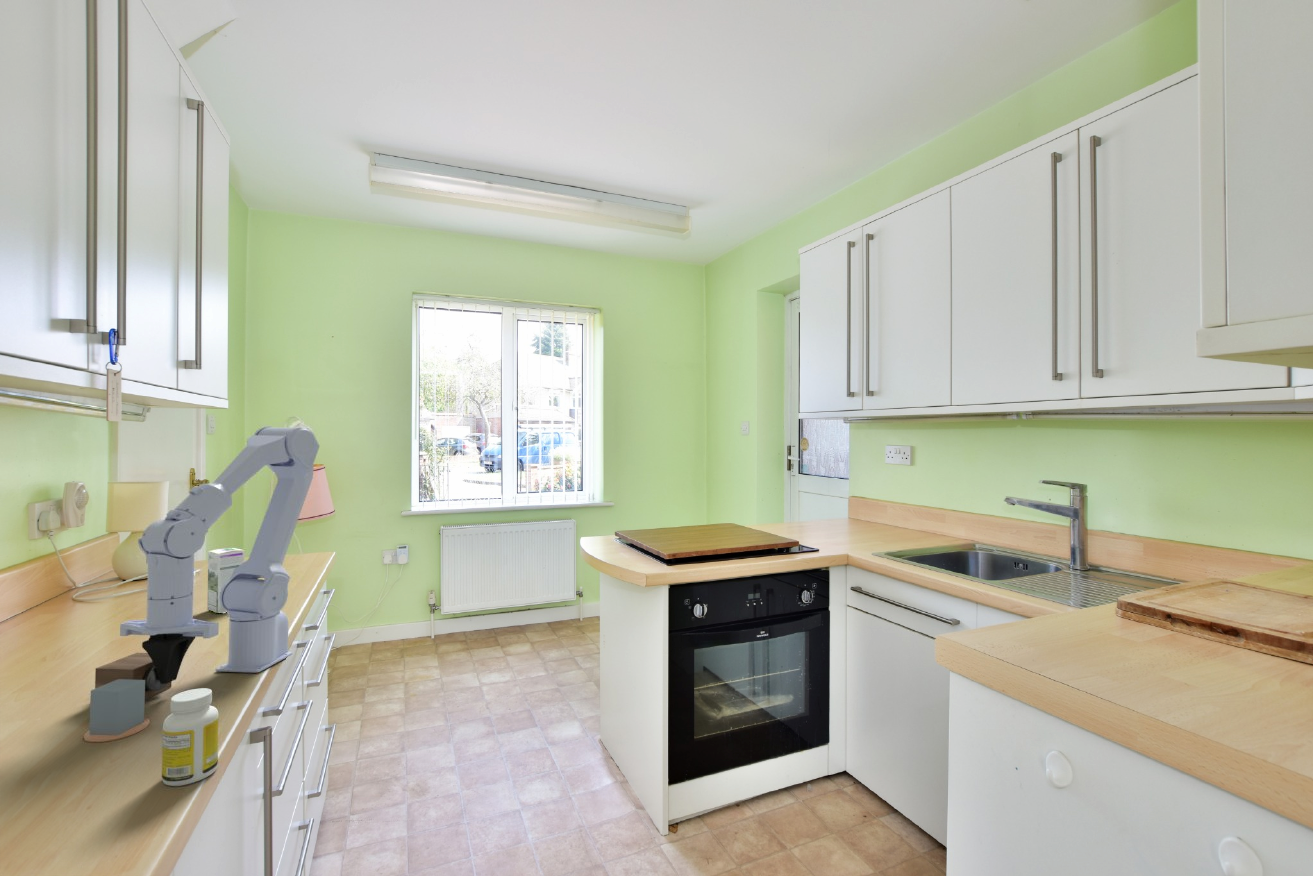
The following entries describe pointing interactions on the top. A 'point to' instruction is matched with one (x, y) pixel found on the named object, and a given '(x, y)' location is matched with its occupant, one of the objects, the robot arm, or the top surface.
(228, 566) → the syrup box
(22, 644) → the top surface
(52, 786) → the top surface
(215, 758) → the supplement bottle
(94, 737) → the plate
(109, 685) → the block
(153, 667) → the rod
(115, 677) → the rod housing
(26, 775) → the top surface
